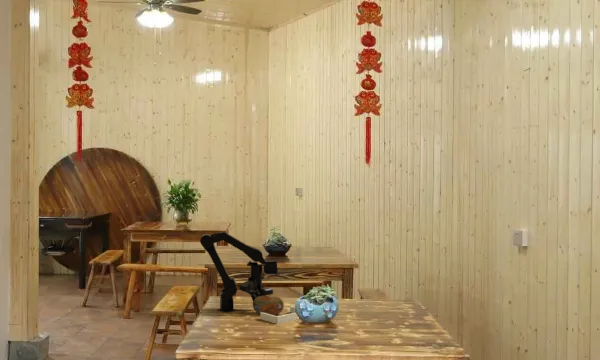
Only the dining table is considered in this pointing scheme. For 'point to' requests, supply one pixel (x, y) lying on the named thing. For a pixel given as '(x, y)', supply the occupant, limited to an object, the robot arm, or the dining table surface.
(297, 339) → the dining table surface
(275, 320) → the shelf slot
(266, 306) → the tin
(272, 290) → the robot arm
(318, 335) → the dining table surface
